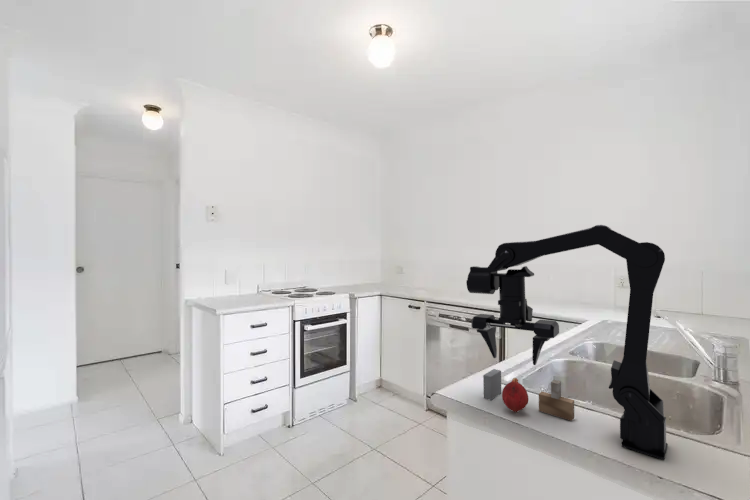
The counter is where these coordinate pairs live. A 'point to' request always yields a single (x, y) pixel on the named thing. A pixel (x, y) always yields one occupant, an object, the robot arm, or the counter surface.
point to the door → (556, 402)
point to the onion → (515, 396)
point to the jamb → (492, 384)
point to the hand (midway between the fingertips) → (514, 361)
